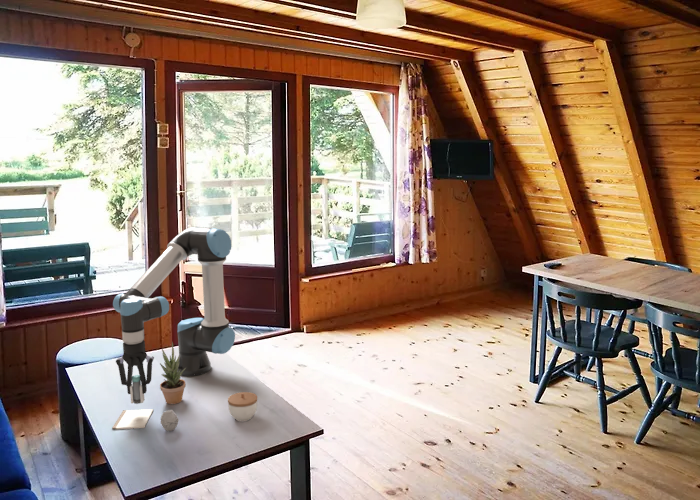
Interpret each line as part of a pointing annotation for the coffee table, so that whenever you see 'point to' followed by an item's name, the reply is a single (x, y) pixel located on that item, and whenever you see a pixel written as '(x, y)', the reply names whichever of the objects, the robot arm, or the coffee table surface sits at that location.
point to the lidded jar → (242, 405)
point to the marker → (136, 388)
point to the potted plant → (172, 380)
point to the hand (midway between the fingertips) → (137, 401)
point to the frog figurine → (169, 420)
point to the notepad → (133, 419)
